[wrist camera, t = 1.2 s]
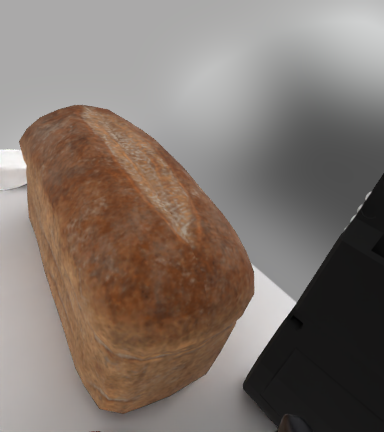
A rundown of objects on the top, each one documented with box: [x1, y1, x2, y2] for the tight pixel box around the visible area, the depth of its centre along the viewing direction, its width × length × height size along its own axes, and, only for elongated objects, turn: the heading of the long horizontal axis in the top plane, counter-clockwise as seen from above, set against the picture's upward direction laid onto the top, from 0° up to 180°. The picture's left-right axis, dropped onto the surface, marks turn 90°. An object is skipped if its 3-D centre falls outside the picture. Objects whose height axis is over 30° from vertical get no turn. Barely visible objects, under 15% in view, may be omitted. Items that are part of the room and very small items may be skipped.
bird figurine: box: [0, 149, 27, 190], centre depth 39 cm, size 5×7×10 cm
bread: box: [19, 105, 254, 414], centre depth 27 cm, size 12×28×14 cm, turn 31°
